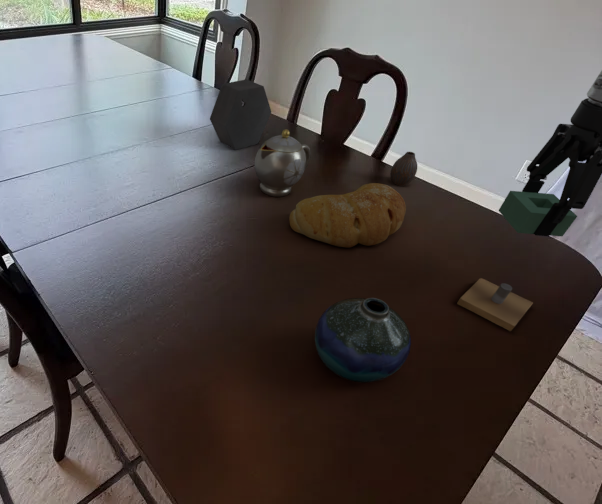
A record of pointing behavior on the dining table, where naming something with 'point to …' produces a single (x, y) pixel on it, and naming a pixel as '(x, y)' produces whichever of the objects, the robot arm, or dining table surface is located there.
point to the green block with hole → (532, 212)
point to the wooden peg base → (495, 303)
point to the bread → (351, 216)
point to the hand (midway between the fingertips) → (529, 222)
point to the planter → (240, 113)
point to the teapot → (281, 164)
